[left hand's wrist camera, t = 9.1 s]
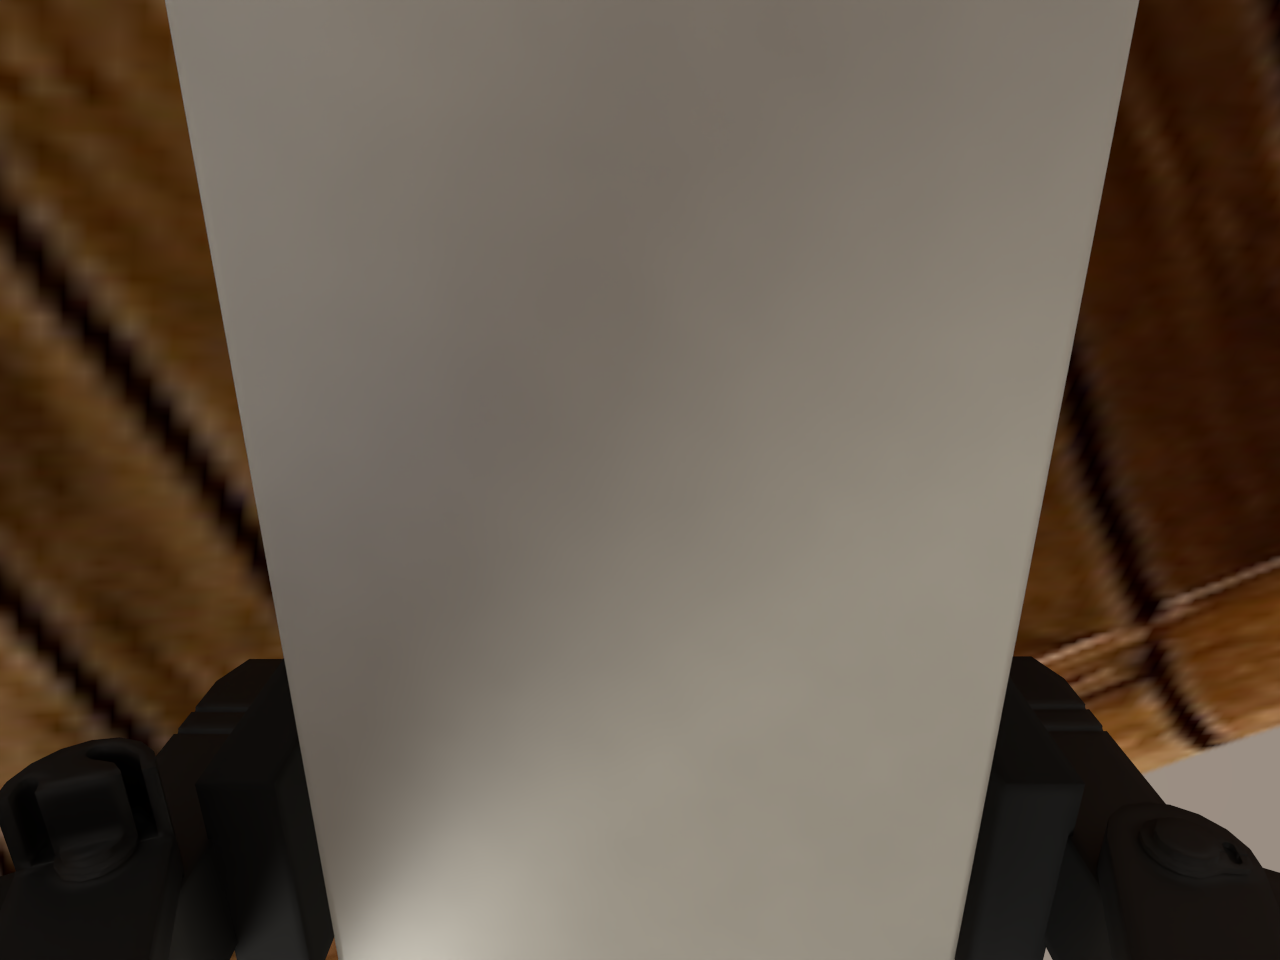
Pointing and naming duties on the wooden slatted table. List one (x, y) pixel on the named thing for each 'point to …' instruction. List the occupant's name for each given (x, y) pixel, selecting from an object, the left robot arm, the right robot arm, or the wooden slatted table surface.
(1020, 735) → the left robot arm
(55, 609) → the wooden slatted table surface
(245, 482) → the wooden slatted table surface
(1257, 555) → the wooden slatted table surface
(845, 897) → the bar
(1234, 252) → the wooden slatted table surface
